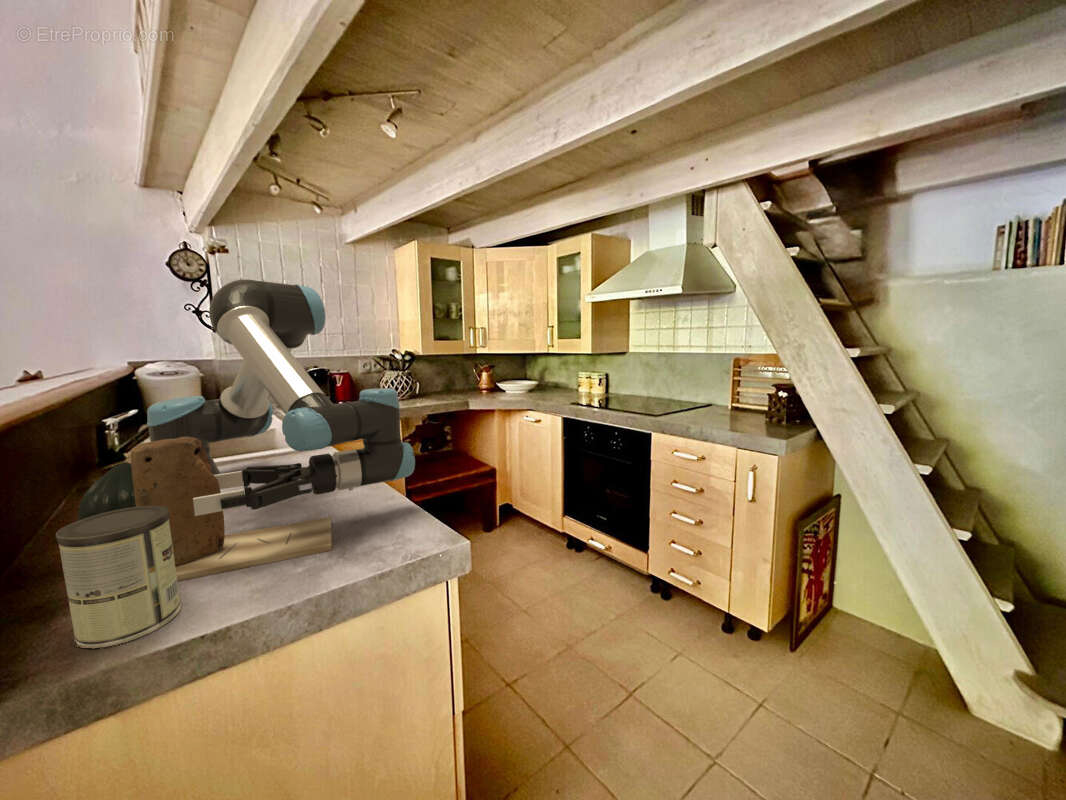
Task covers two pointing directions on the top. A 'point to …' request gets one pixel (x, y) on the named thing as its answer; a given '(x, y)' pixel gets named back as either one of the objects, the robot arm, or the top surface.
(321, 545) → the board
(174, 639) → the top surface
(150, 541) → the coffee can
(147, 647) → the top surface
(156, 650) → the top surface
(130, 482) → the squash
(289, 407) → the robot arm
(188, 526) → the block
